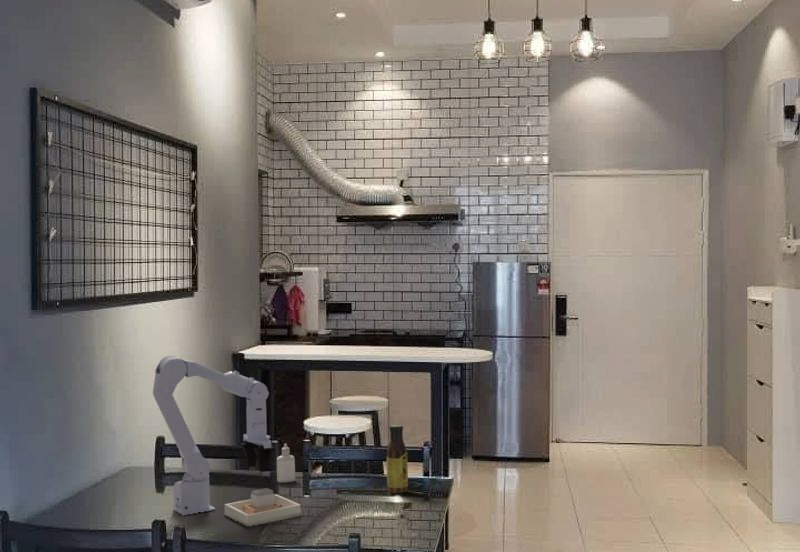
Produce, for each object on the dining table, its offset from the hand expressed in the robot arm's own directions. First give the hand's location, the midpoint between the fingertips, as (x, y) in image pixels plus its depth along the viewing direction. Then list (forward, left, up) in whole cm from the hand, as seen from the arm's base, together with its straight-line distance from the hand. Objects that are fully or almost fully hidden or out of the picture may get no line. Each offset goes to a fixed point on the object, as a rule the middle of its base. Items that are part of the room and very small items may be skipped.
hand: (257, 469), depth 244 cm
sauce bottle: (+37, -18, -10) cm, 43 cm away
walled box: (-6, -14, -9) cm, 18 cm away
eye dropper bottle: (+17, +15, -10) cm, 25 cm away
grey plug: (-5, -14, -9) cm, 17 cm away
